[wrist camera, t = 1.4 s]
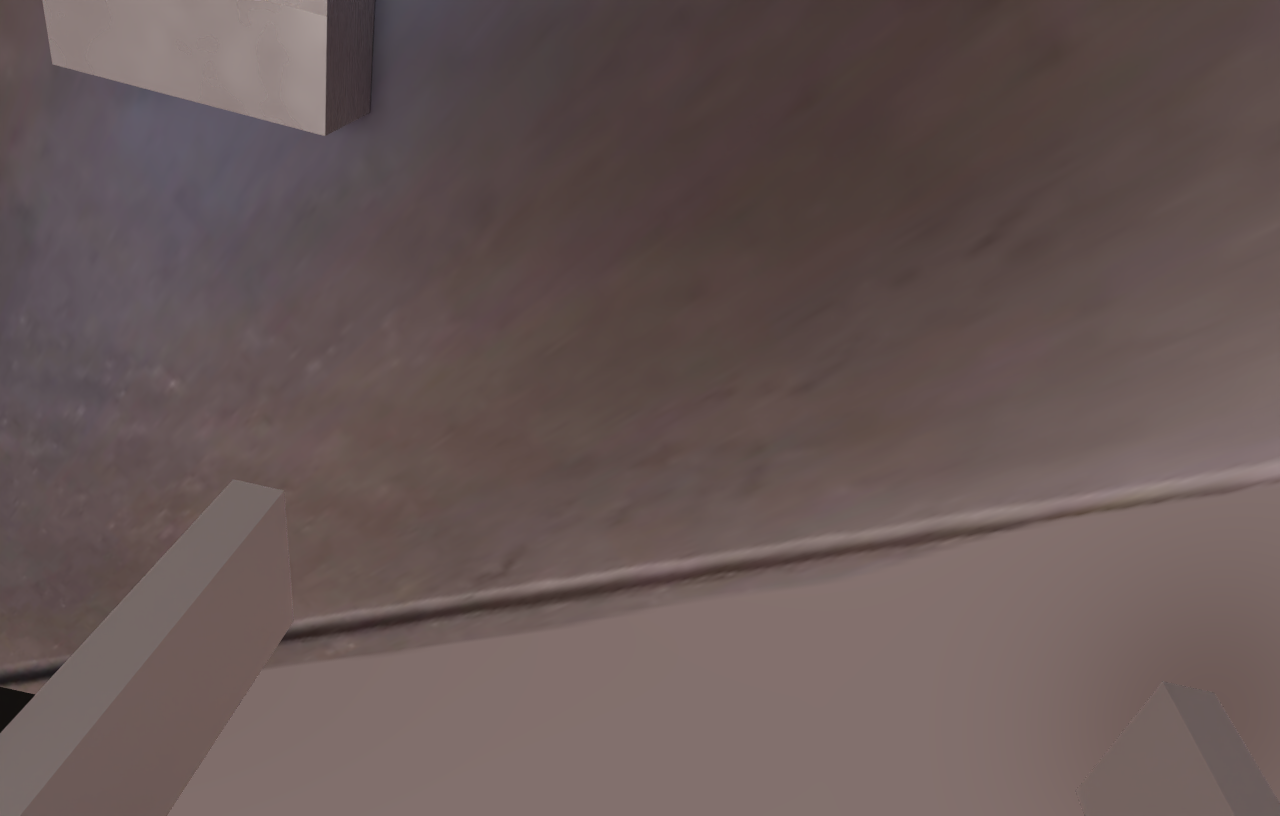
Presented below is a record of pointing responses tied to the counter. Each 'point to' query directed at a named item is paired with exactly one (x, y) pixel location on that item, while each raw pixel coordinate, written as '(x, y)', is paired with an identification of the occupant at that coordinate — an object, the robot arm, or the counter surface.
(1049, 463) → the counter surface
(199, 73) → the housing
